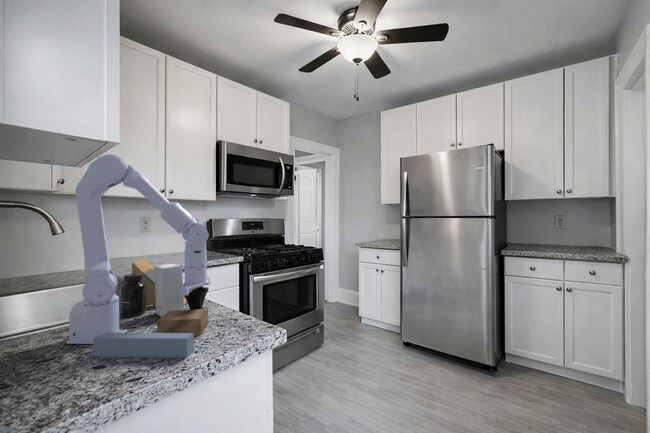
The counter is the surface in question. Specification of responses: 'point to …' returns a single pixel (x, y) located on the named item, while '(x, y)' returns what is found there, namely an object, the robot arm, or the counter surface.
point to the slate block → (144, 345)
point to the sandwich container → (147, 279)
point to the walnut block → (184, 321)
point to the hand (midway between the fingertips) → (196, 314)
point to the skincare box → (168, 288)
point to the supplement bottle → (133, 296)
